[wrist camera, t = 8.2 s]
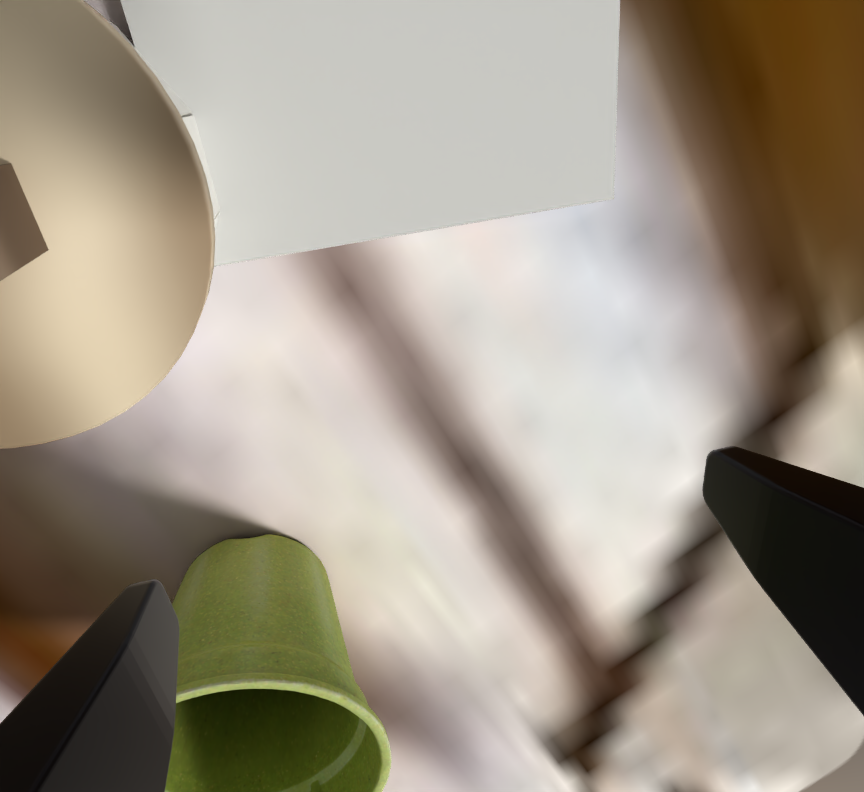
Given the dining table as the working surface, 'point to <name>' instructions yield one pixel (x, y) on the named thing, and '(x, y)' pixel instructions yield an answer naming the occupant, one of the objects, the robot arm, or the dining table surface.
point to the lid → (90, 224)
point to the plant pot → (268, 679)
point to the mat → (387, 111)
